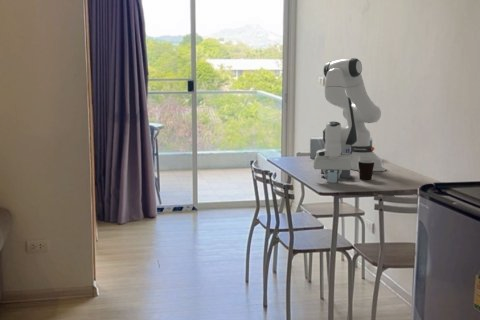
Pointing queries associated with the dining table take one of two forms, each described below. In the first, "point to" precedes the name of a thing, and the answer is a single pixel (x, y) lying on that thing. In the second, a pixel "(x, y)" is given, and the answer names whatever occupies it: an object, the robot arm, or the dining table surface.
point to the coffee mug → (365, 169)
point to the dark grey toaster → (344, 174)
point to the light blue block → (332, 176)
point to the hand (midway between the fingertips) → (332, 177)
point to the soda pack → (319, 144)
